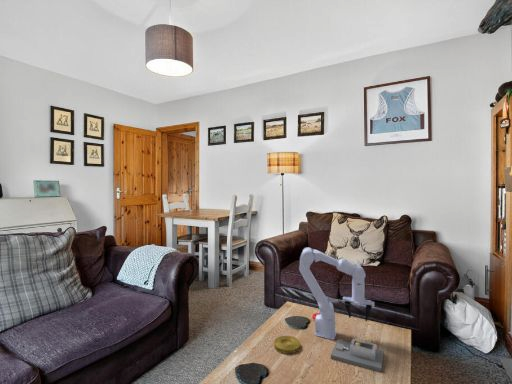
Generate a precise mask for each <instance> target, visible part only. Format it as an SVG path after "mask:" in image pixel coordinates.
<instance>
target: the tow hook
mask: <svg viewBox="0 0 512 384" xmlns="http://www.w3.org/2000/svg"><path fill="white" fill-rule="evenodd" d="M320 314H321V310H320V309H319V312H317V313H316V312H315V313H312V315H311V316H312V318H313V319H314V320H313V321H315V319H316V315H320Z"/></svg>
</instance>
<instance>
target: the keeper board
mask: <svg viewBox="0 0 512 384" xmlns="http://www.w3.org/2000/svg"><path fill="white" fill-rule="evenodd" d="M337 343H338V344H342V345H344V347H347V348H348V350H345V349H343V351H339V350H336V346H337ZM350 344H351V342H350V341H346V340H342V339H338V338H337V340H336V342H335V345H334V347H333V349H332V351H331V354H330V359H333V360H335V361H340V362H343V363H347V364H350V365H355V366H357V367H360V368H363V369H364V368H365V369H368V370H372V371H376V372H379V373H382V368H383V361H384V360H383V359H384V354H385V353H384V350H383V349H380V348H376V359H375V361H373V360H369V359H365V358H361V357H358V356H354V355H350ZM355 345H357V346H360V343H358V342H356V343H355Z"/></svg>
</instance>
